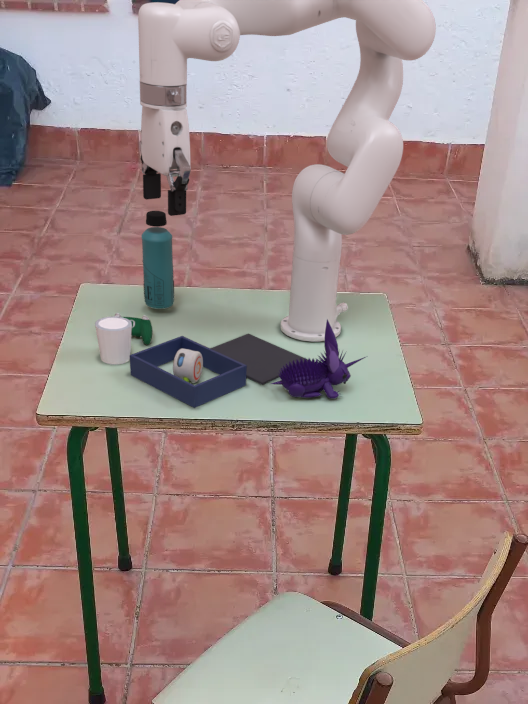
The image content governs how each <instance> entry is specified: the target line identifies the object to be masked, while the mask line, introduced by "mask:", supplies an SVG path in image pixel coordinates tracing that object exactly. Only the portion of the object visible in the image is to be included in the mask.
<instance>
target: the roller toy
mask: <svg viewBox="0 0 528 704" xmlns="http://www.w3.org/2000/svg"><path fill="white" fill-rule="evenodd" d="M172 362H173V363H172V373H173V375H175V376H177V377H179V378H181V379H183V380H185V381H187V382H189V383H191V384H195V383H196V384H197V382H198V381H199V380H200V378H201V376H202V374H203V373H202V372H203V368H204V367H203V358H202V355H201V353H200V352H198V351H192V350H189V349H180V350H178V351H177V353H176V355H175V358H174V360H173V361H172Z"/></svg>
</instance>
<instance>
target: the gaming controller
mask: <svg viewBox="0 0 528 704" xmlns="http://www.w3.org/2000/svg"><path fill="white" fill-rule="evenodd" d="M114 316H117V317H123V318H126V319H129V320H130V321H131V323H132V330H131V337H136V338H141V339H142V342H143V345H146V346H149V345H150V344H151V342H152V339H153V325H152V322H151V320H150V318H149V317H148V316H147V315H145V314H143V315H142V317H141V318H140V317H134V316H133V317H132V316H122V315H121V313H119V312H116V313H115V314H114Z"/></svg>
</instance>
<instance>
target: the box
mask: <svg viewBox="0 0 528 704" xmlns="http://www.w3.org/2000/svg"><path fill="white" fill-rule="evenodd" d="M180 349H189V350H192V351H198V352H200V353H201V355H202V358H203V368H204V369H206V370H209V371H211V372H213V373H215V374H217V375H216V376H213V377H211V378H208V379H206V380H203V381H201V382H199V383H196V384H194V383H189V382H187V381H185V380H183V379H181V378H179V377H177V376H175V375H174V374H172V373H171V372H169V371H166V370H165V369H162V368H161V367H160V366H163V365H165V364H168V363H170V362H174V358H175V355H176V353H177V351H178V350H180ZM129 368H130V369H129V370H130V372H129V373H130V376H131V377H133V378H135V379H137V380H139V381H141V382H142V383H145V384H146V385H149V386H151V387H153V388H155V389H157V390H159V391H161V392H163V393H164V394H166V395H168V396H170V397H172V398H174V399H176V400H178V401H180V402H182V403H184V404H186V405H187V406H189V407H192V408H193V409H196V408H198V407H200V406H203V405H204V404H207V403H209V402H212V401H214V400H216V399H218V398H221V397H223V396H225V395H228V394H229V393H232V392H234V391H237V390H239V389H241V388H243V387H245V386H247V377H246V371H247V365H245V364H242V363H240V362H238V361H236V360H234V359H232V358H229V357H227V356H225V355H223V354H221V353H219V352H216V351H214V350H212V349H210V347H208V346H205V345H204V344H201V343H200V342H197V341H195V340H193V339H190V338H188V337H186V336H184V335H181V336H178V337H175V338H171V339H169V340H167V341H164V342H161V343H158V344H156V345H154V346H153V345H152V346H151V347H148V348H145V349H142V350H140V351H137V352H134V353H132V354H131V353H130V360H129Z"/></svg>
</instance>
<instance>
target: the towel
mask: <svg viewBox="0 0 528 704" xmlns="http://www.w3.org/2000/svg"><path fill="white" fill-rule="evenodd" d="M209 348H210V347H209ZM210 349H212V350H214V351H216V352H219V353H221V354H223V355H225V356H227V357H229V358H232V359H234V360H236V361H238V362H240V363H242V364H245V365H247V371H246V379H248V380H251V381H253V382H255V383H258V384H259V385H262V386H263V385H265V384H267V383H271V382H272V381H274V380H277V379H280V376H279V374H280V371H281V368H282V369H283V368H284V367H283V365H284V366H285V368H286V363H287V365H288V366H289V361H290V362H291V364H292V366H293V363H292V362H293V360H294V362H295V364H296V359H298V361H299V363H300V358H301V359H302V360H303V363H304V359H305V358H306V357H303V356H302V355H299V354H297V353H294V352H292V351H290V350H287V349H285V348H282V347H280V346H278V345H276V344H274V343H272V342H269V341H267V340H265V339H262V338H259V337H257V336H255V335H253V334H250V333H246V334H244V335H241V336H238V337H236V338H234V339H230V340H228V341H225V342H224V343H221V344H218V345H216V346H215V345H214V346H213V347H211V348H210ZM308 359H309V358H306V360H307V362H308ZM279 370H280V371H279ZM283 370H284V369H283ZM281 372H282V371H281ZM278 373H279V374H278ZM280 375H281V374H280Z"/></svg>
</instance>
